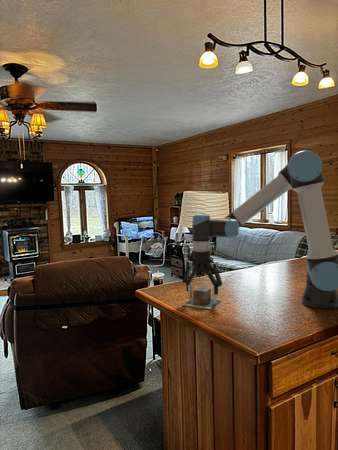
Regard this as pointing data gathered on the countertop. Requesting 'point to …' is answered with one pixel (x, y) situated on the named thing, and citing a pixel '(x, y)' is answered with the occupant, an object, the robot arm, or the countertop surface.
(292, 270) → the countertop surface
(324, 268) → the robot arm
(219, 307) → the beige flat square panel
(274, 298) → the countertop surface
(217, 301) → the tray
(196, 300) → the walnut block
